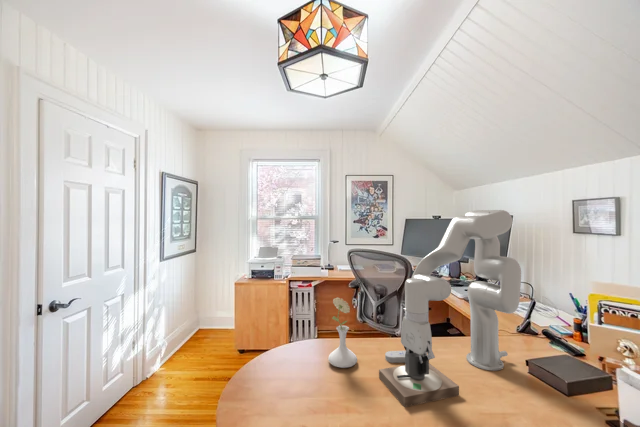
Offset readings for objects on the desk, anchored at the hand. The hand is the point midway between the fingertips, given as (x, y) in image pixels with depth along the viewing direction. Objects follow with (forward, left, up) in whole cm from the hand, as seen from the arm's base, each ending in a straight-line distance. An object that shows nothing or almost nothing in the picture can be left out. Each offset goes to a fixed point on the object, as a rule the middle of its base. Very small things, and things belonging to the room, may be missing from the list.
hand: (416, 369), depth 95 cm
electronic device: (-6, -17, -6) cm, 19 cm away
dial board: (0, 0, -6) cm, 6 cm away
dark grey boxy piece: (+2, 0, -2) cm, 3 cm away
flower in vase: (+19, -22, -6) cm, 30 cm away
